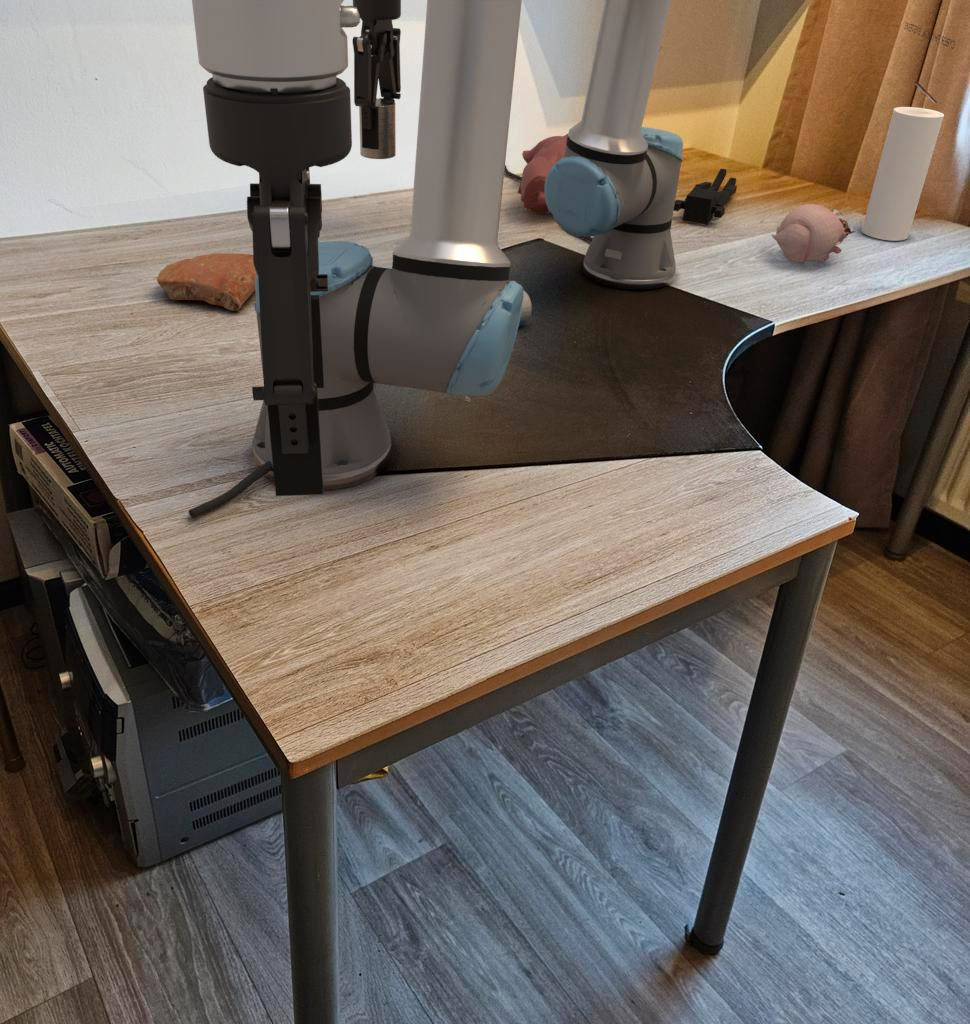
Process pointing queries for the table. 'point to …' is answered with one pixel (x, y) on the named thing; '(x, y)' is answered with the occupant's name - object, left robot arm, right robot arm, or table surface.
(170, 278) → the ceramic shard
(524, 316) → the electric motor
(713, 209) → the toy
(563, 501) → the table surface
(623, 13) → the right robot arm
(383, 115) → the tin
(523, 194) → the pink toy pig
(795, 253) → the toy
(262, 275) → the left robot arm
